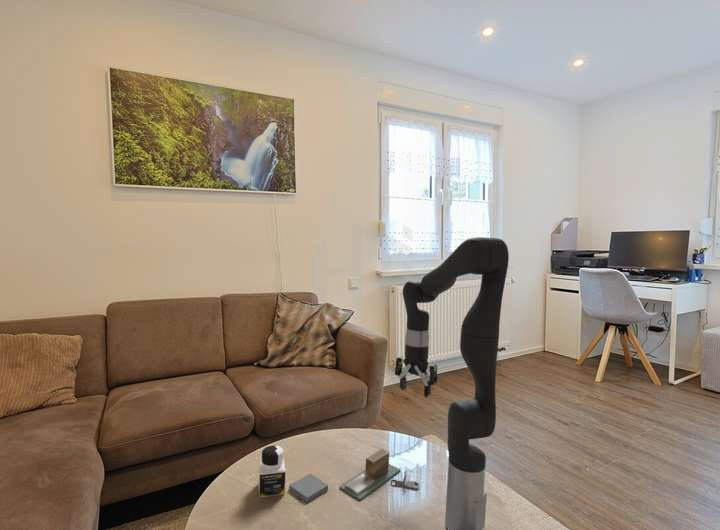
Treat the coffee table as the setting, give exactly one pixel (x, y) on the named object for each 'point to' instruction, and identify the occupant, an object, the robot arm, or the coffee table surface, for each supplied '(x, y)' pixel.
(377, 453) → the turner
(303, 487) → the tile
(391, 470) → the mat
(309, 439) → the coffee table surface
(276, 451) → the medicine bottle
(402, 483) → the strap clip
